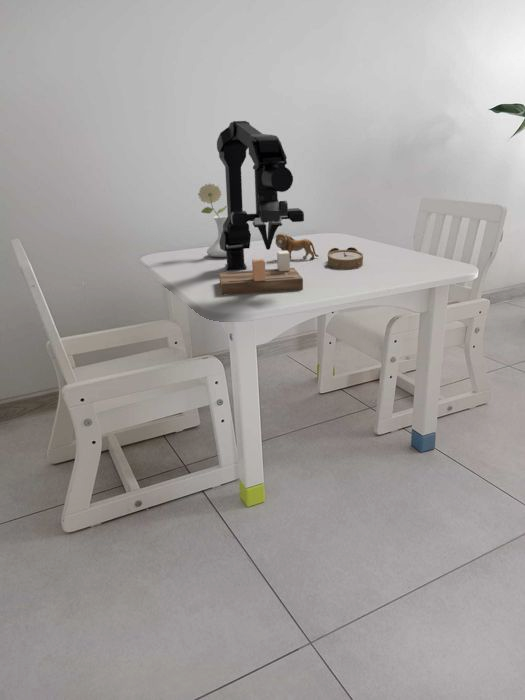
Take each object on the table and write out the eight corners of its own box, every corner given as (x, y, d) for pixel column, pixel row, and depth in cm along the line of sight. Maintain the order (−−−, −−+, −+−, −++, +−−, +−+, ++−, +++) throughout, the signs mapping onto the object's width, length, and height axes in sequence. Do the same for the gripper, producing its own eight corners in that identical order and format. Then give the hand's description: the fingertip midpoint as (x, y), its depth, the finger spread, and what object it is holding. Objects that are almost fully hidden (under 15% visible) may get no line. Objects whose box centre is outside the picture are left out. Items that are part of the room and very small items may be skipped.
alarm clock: (329, 261, 157) (324, 243, 169) (329, 275, 159) (324, 257, 172) (366, 259, 156) (358, 242, 169) (365, 274, 159) (357, 255, 172)
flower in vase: (241, 252, 186) (237, 181, 177) (235, 259, 176) (230, 184, 166) (206, 252, 188) (201, 182, 179) (198, 259, 178) (192, 185, 168)
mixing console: (220, 282, 148) (219, 272, 146) (294, 277, 150) (294, 267, 149) (222, 294, 136) (221, 283, 134) (302, 289, 138) (302, 278, 137)
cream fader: (277, 268, 148) (276, 251, 146) (287, 267, 148) (287, 250, 146) (279, 271, 144) (279, 253, 143) (289, 270, 145) (289, 253, 143)
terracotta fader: (252, 277, 139) (252, 259, 137) (263, 276, 139) (263, 258, 137) (254, 281, 135) (253, 262, 133) (265, 280, 136) (264, 261, 134)
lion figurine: (276, 261, 171) (275, 234, 167) (275, 258, 176) (274, 232, 172) (319, 259, 171) (320, 232, 168) (317, 256, 176) (317, 230, 173)
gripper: (232, 193, 122) (235, 258, 128) (308, 190, 124) (308, 253, 130) (229, 189, 132) (232, 249, 138) (299, 186, 134) (299, 245, 140)
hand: (268, 249), depth 136 cm, fingers closed
